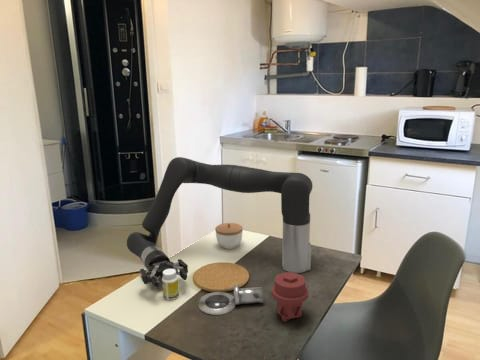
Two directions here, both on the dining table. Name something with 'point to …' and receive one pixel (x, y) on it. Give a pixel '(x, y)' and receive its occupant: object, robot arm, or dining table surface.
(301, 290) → the mechanical component
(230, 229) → the lidded jar
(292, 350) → the dining table surface
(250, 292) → the flange fitting
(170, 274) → the supplement bottle
